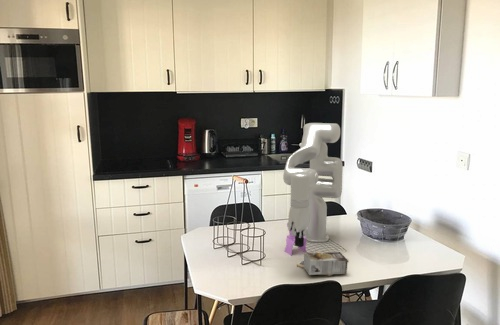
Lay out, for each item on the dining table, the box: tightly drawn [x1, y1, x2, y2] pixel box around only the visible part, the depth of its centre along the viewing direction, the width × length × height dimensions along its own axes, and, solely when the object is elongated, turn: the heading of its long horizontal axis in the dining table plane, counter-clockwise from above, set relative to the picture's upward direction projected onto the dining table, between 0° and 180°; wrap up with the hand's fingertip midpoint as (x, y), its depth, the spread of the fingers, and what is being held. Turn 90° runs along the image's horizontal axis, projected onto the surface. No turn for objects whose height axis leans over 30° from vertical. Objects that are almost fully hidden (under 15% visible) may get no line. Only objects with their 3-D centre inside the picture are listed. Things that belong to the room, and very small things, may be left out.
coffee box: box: [303, 251, 348, 276], centre depth 179 cm, size 9×6×16 cm
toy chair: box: [283, 222, 308, 257], centre depth 201 cm, size 8×9×15 cm
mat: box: [296, 250, 349, 277], centre depth 188 cm, size 16×18×1 cm
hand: (299, 245), depth 175 cm, fingers closed
